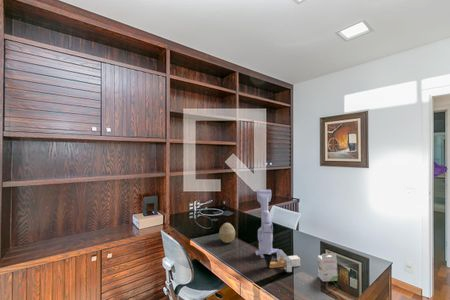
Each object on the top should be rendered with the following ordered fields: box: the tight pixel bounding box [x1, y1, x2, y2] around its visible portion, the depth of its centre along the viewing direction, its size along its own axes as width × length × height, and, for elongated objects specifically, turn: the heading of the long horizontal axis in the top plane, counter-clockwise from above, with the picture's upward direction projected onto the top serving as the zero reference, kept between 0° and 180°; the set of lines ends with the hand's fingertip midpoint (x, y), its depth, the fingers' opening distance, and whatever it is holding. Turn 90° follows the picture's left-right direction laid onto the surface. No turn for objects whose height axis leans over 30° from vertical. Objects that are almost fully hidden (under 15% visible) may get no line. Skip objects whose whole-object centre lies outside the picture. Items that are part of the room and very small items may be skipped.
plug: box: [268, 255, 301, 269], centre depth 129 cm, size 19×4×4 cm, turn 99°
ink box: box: [317, 252, 339, 282], centre depth 115 cm, size 9×5×15 cm, turn 92°
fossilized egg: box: [218, 222, 236, 244], centre depth 165 cm, size 13×13×15 cm
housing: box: [276, 249, 293, 273], centre depth 129 cm, size 14×3×7 cm, turn 9°
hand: (267, 265), depth 127 cm, fingers closed
